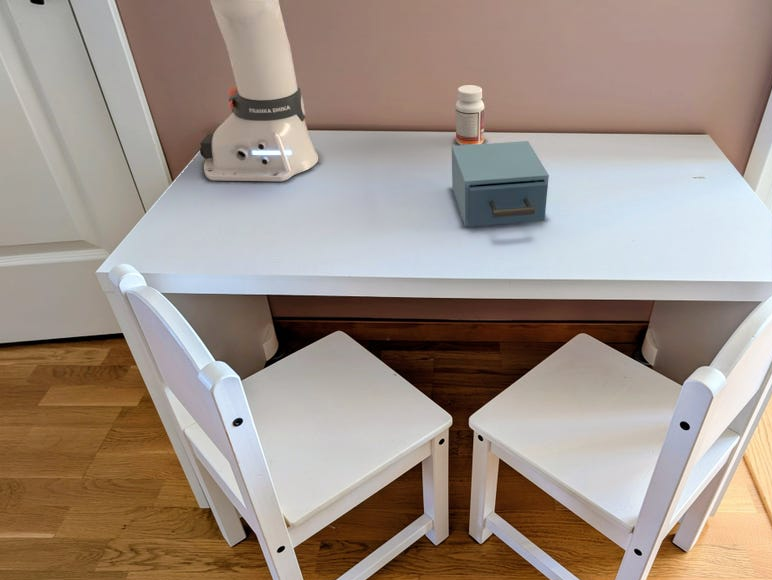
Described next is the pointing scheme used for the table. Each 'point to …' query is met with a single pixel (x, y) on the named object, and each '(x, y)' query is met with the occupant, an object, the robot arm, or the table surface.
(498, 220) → the drawer
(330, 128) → the table surface
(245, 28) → the robot arm
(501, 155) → the cabinet
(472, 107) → the pill bottle
